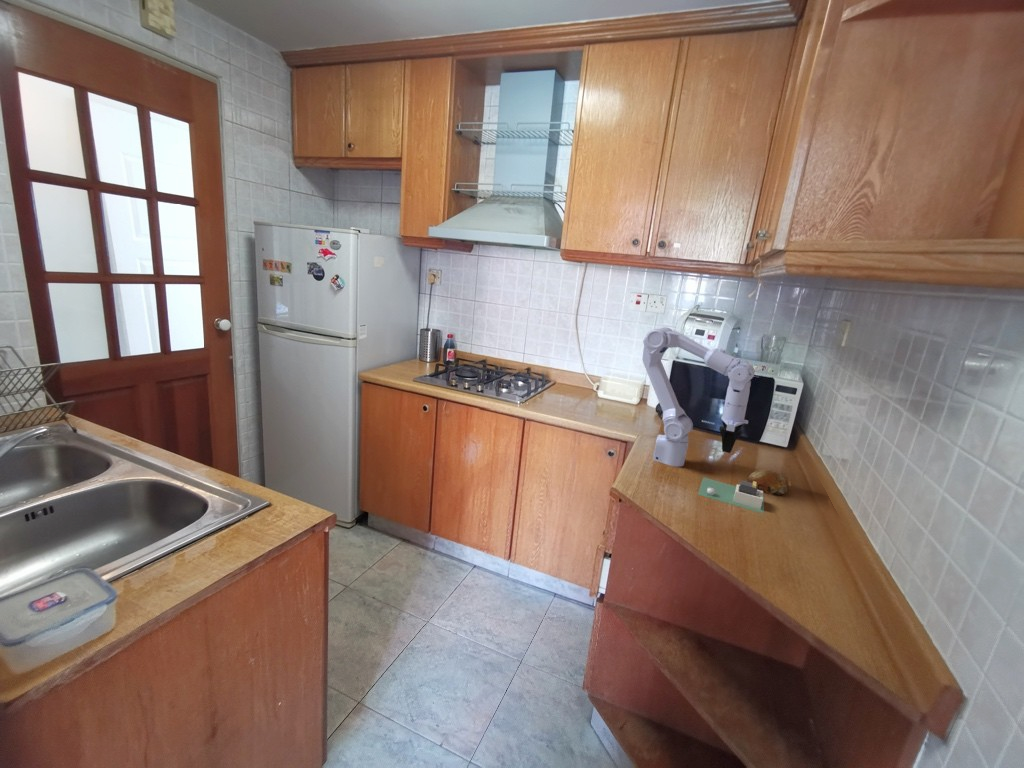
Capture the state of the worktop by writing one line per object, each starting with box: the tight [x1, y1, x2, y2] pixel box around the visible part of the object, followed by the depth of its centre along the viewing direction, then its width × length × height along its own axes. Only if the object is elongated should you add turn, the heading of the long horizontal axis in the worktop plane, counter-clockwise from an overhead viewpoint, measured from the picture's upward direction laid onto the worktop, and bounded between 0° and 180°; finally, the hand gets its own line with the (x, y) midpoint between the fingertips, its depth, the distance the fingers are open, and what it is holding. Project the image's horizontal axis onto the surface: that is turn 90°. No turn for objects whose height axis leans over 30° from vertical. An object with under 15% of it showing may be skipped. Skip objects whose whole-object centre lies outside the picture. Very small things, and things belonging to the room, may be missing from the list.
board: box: [697, 476, 765, 514], centre depth 123 cm, size 16×13×2 cm
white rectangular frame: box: [733, 483, 764, 509], centre depth 120 cm, size 6×5×3 cm
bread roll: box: [747, 468, 788, 497], centre depth 130 cm, size 10×10×8 cm
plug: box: [738, 479, 758, 496], centre depth 119 cm, size 4×3×6 cm
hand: (727, 447), depth 132 cm, fingers open, 7 cm apart
